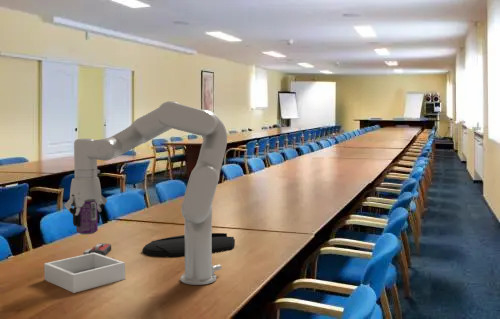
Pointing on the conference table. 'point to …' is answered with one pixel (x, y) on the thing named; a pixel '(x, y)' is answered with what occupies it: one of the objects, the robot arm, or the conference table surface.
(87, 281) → the walled box
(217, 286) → the conference table surface
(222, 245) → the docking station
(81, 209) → the beverage can
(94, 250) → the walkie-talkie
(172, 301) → the conference table surface
